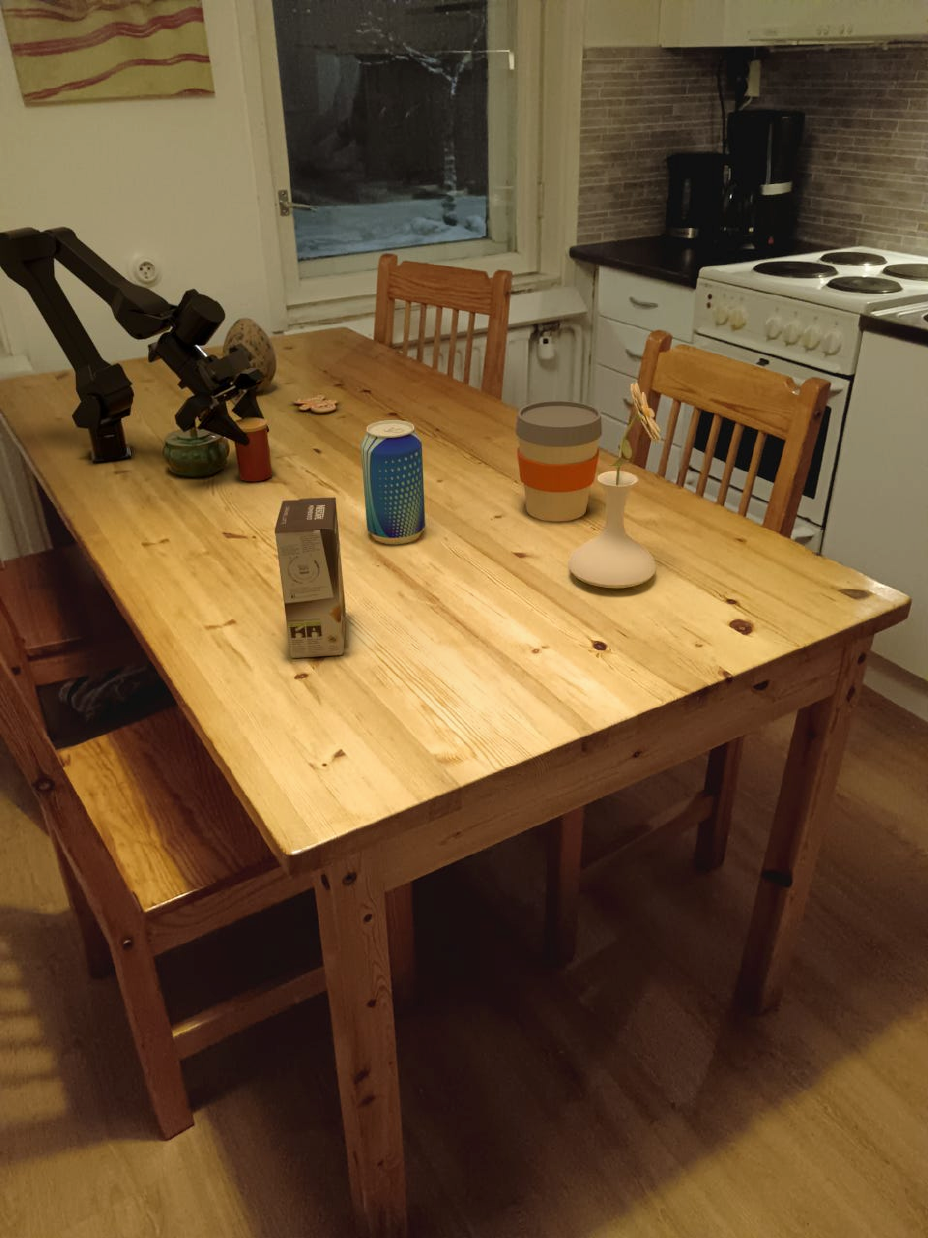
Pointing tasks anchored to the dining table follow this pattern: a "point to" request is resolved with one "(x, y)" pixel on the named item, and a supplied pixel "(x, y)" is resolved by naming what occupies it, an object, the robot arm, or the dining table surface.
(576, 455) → the reusable coffee cup
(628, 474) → the flower in vase
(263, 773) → the dining table surface
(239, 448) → the tea canister
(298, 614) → the coffee box
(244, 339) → the decorative egg
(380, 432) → the beer can
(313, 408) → the cookie
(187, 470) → the lidded pot
